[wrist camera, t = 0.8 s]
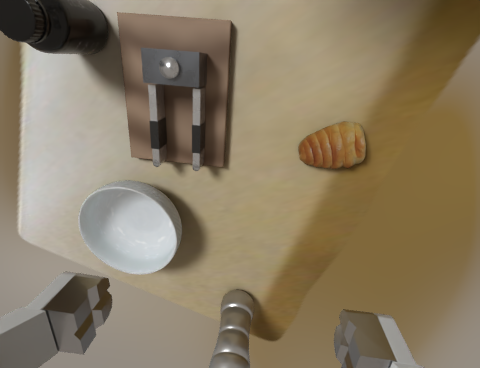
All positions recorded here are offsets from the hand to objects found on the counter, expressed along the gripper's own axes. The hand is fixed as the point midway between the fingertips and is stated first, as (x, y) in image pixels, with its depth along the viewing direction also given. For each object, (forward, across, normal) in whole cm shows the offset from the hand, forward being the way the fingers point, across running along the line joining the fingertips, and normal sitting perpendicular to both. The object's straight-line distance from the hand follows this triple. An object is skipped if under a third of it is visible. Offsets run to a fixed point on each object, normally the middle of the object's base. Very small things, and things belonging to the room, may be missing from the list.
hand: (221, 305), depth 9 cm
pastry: (+35, -12, +2) cm, 37 cm away
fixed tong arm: (+33, +14, +1) cm, 36 cm away
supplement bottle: (+34, +25, -11) cm, 44 cm away
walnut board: (+34, +12, -3) cm, 36 cm away
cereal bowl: (+35, +19, +18) cm, 44 cm away
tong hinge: (+32, +11, -7) cm, 35 cm away
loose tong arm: (+33, +8, +1) cm, 34 cm away
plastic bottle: (+35, 0, +36) cm, 50 cm away
